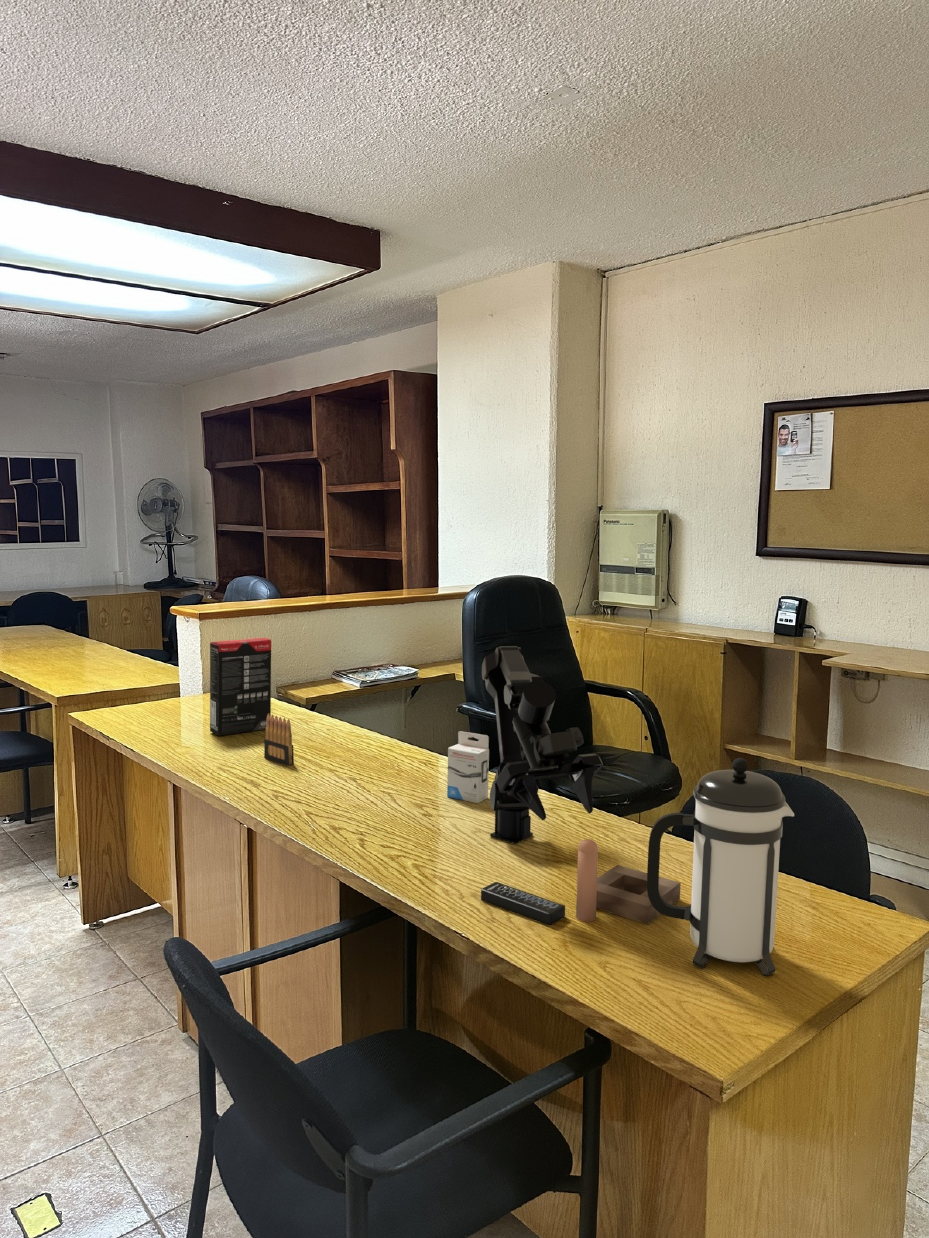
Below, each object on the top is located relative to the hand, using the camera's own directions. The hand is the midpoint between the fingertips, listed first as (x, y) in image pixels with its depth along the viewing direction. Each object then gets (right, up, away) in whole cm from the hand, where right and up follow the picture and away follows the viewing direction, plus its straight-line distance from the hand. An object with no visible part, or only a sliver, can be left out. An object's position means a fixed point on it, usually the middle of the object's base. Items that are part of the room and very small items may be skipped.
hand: (568, 815), depth 150 cm
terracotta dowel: (+2, -15, -6) cm, 16 cm away
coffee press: (+21, -17, -18) cm, 32 cm away
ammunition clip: (-66, -4, +82) cm, 105 cm away
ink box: (-17, -8, +54) cm, 57 cm away
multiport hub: (-8, -15, -3) cm, 17 cm away
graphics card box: (-83, 0, +113) cm, 140 cm away
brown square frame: (+11, -14, 0) cm, 18 cm away
